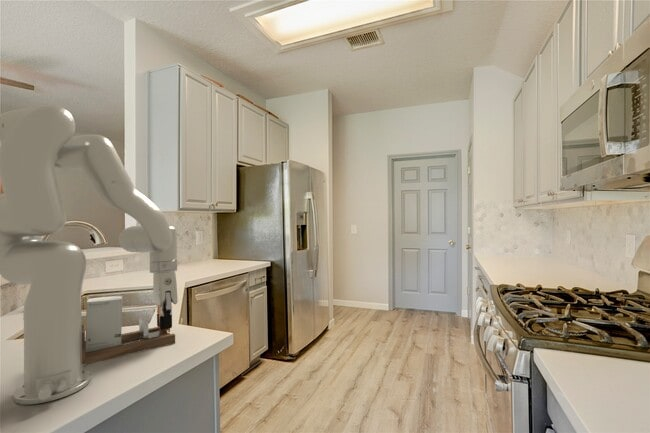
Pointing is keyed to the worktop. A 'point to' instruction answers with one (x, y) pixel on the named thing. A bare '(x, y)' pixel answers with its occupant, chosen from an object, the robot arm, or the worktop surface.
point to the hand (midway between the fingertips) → (164, 326)
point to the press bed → (125, 346)
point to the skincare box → (103, 323)
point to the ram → (143, 328)
